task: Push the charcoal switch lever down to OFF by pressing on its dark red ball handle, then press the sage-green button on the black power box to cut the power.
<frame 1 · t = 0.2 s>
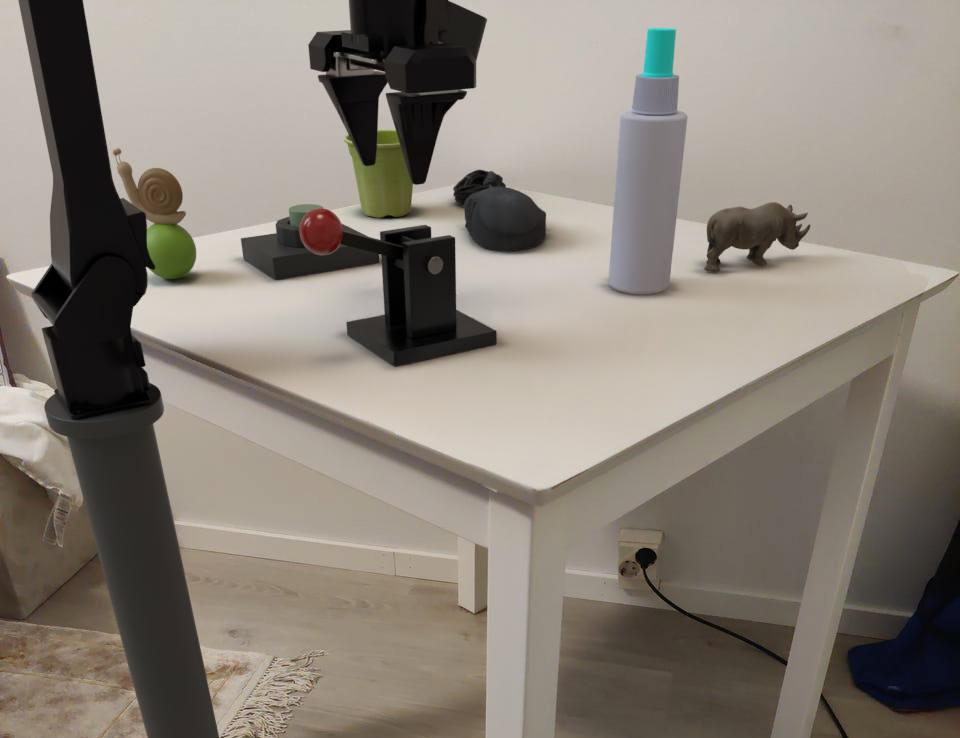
hand: (393, 174, 85), 12 cm above the table, tool pointing down, fingers open, 9 cm apart
snail figurine: (169, 279, 101), on the table
lever: (369, 244, 79), point 9 cm above the table, hinge at 20.0°
rhino figurine: (754, 264, 106), on the table
plant pot: (387, 214, 124), on the table
switch bracket: (421, 339, 86), on the table
power box: (311, 261, 106), on the table
spray bottle: (638, 288, 99), on the table
power button: (306, 216, 104), point 4 cm above the table, slide at 0.1 cm
dark rounded piece: (496, 220, 121), on the table
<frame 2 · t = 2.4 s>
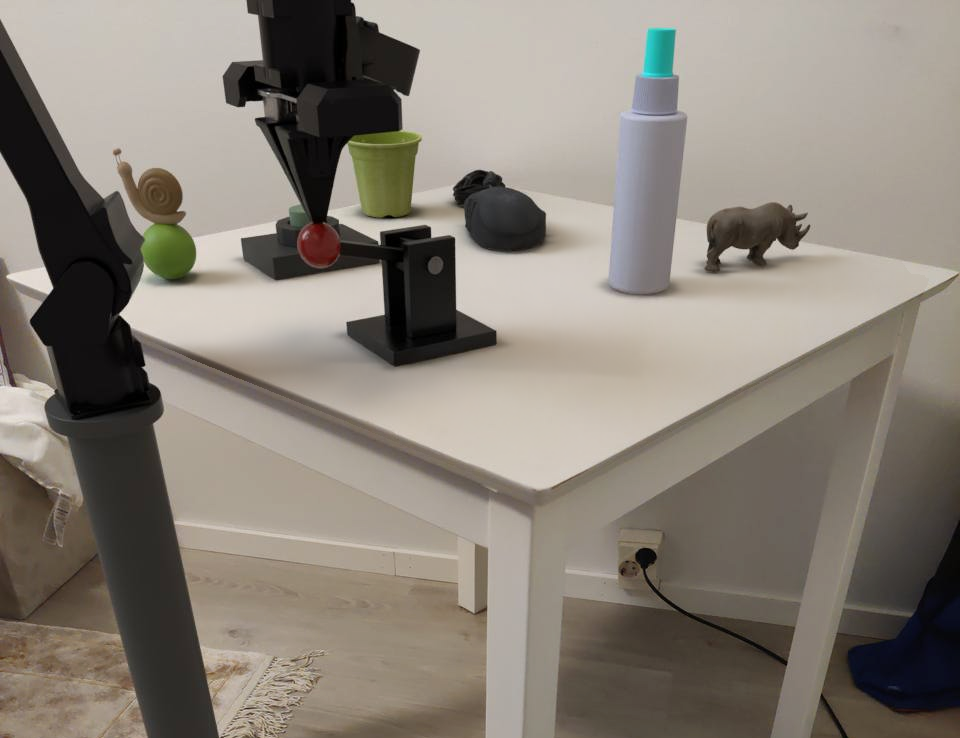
hand: (317, 221, 76), 11 cm above the table, tool pointing down, fingers closed
lever: (368, 251, 79), point 8 cm above the table, hinge at 13.7°, touching gripper
everything else where it was.
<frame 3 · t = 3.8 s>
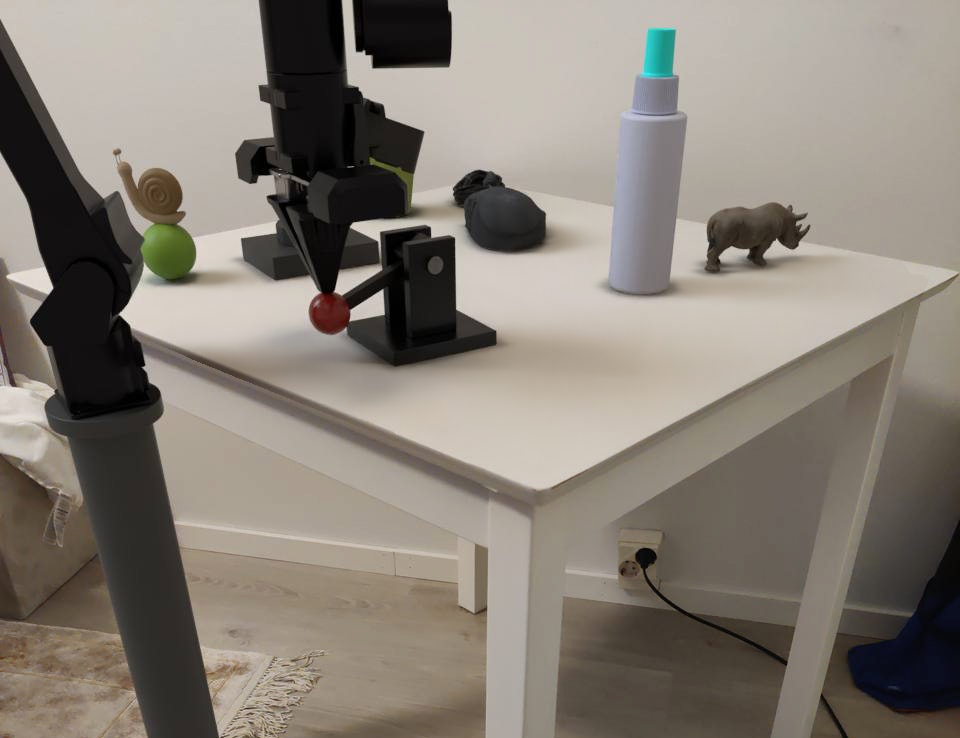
hand: (326, 292, 79), 5 cm above the table, tool pointing down, fingers closed, pressing on lever
lever: (372, 285, 81), point 5 cm above the table, hinge at -21.2°, touching gripper
everything else where it was.
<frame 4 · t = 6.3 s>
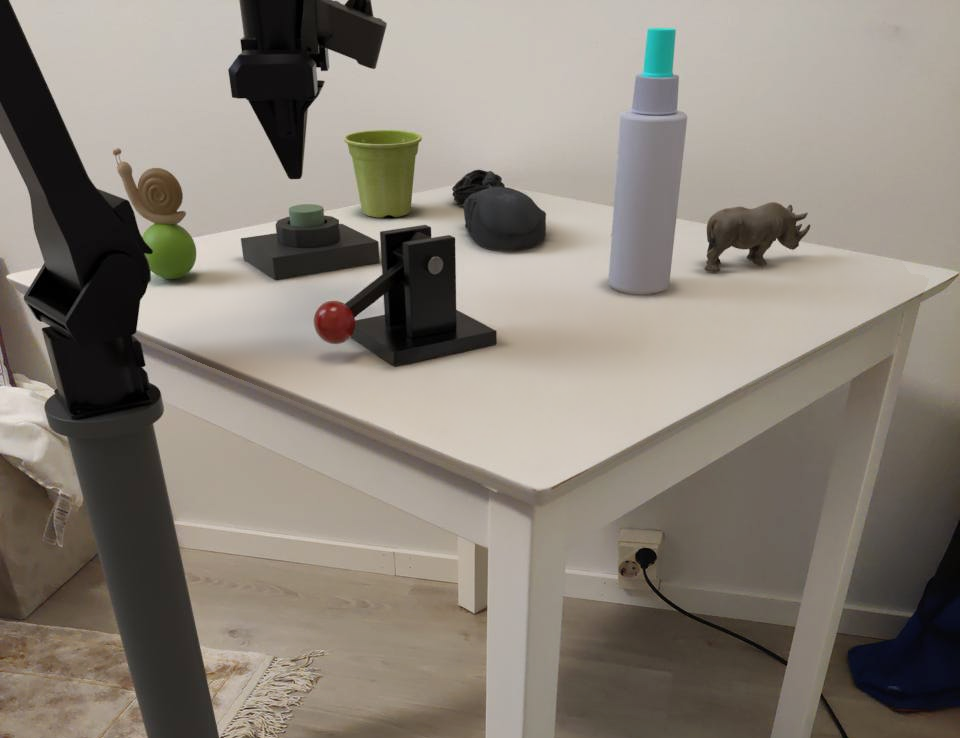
hand: (295, 178, 85), 12 cm above the table, tool pointing down, fingers closed
lever: (375, 290, 82), point 5 cm above the table, hinge at -27.0°
everything else where it was.
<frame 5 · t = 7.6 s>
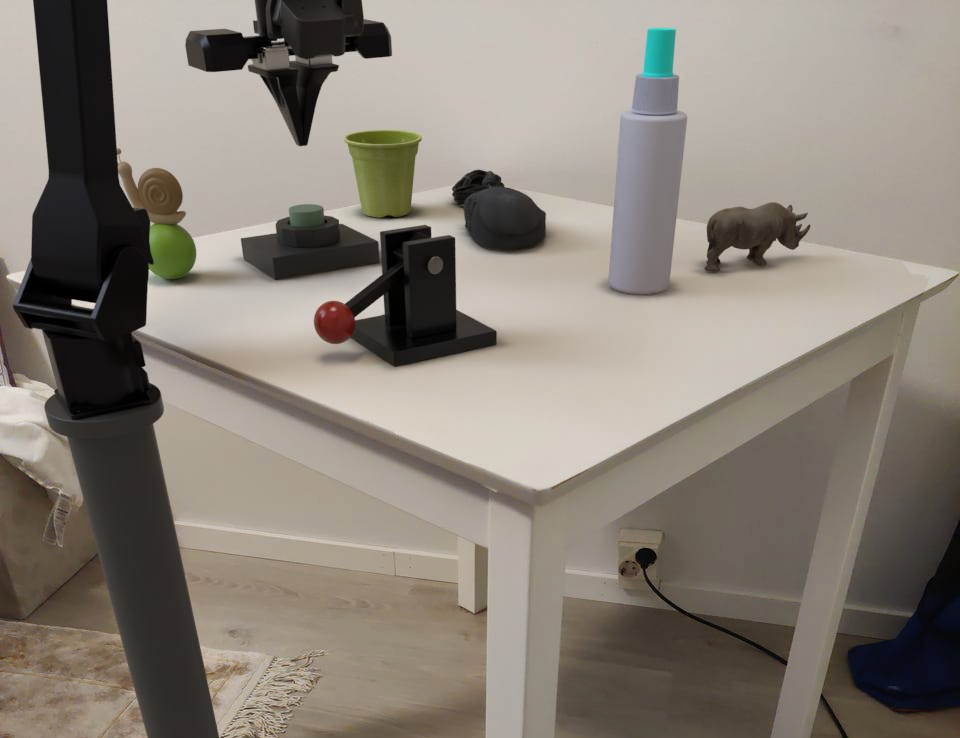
hand: (301, 145, 98), 12 cm above the table, tool pointing down, fingers closed
nothing on the table moved.
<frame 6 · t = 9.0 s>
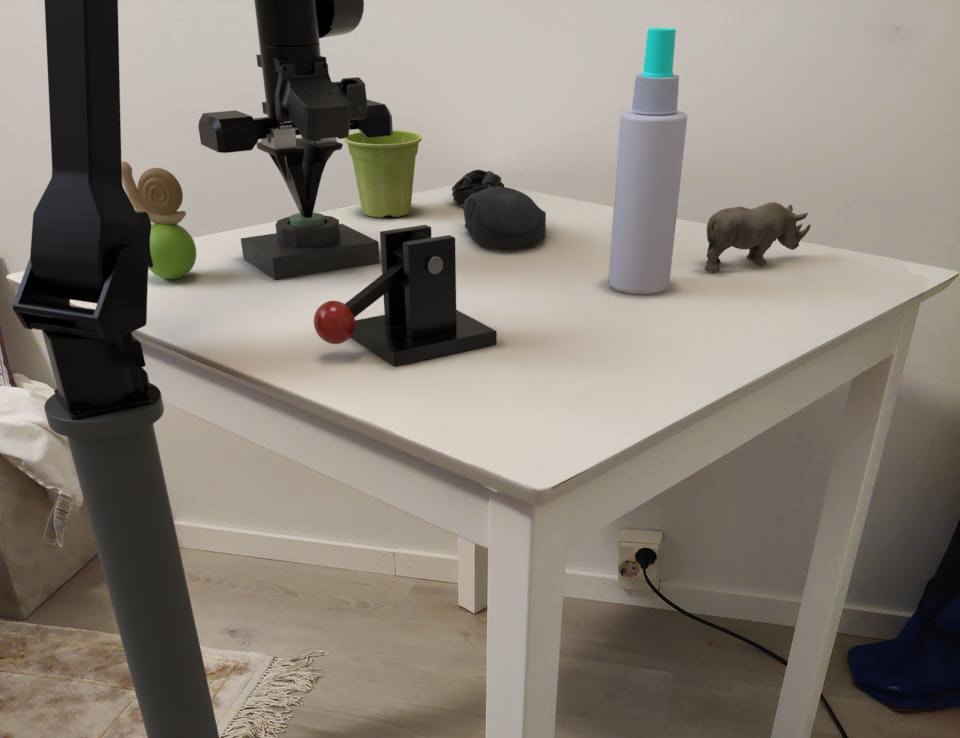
hand: (306, 216, 104), 5 cm above the table, tool pointing down, fingers closed, pressing on power button
power button: (307, 225, 104), point 4 cm above the table, slide at -0.7 cm, touching gripper
everything else where it was.
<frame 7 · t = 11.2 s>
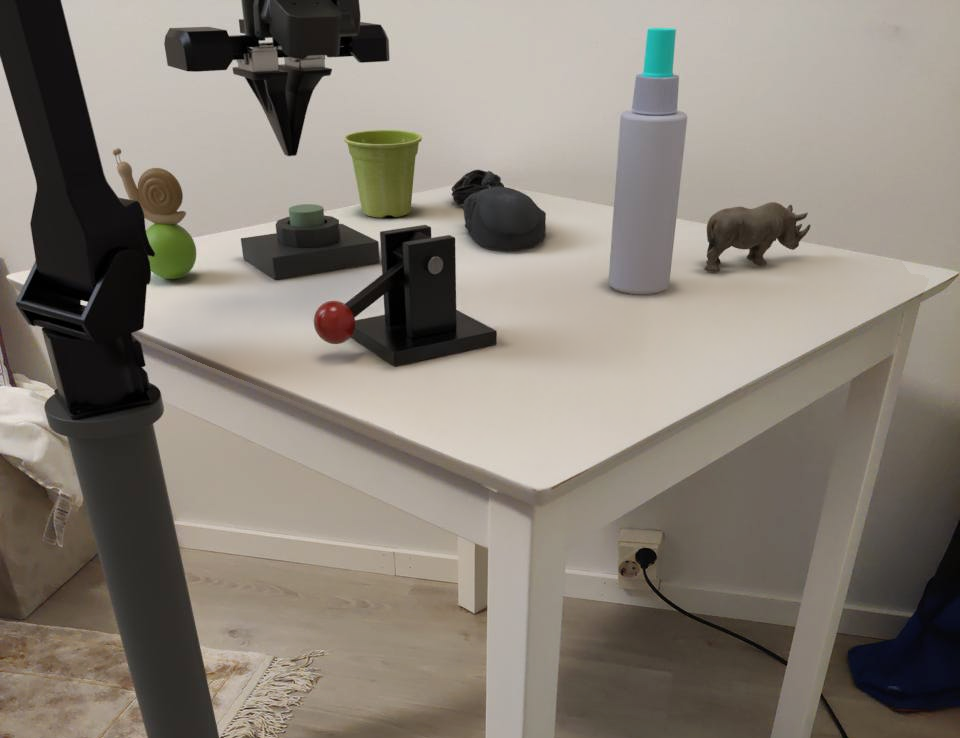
hand: (290, 155, 90), 12 cm above the table, tool pointing down, fingers closed
power button: (306, 216, 104), point 4 cm above the table, slide at 0.1 cm
everything else where it was.
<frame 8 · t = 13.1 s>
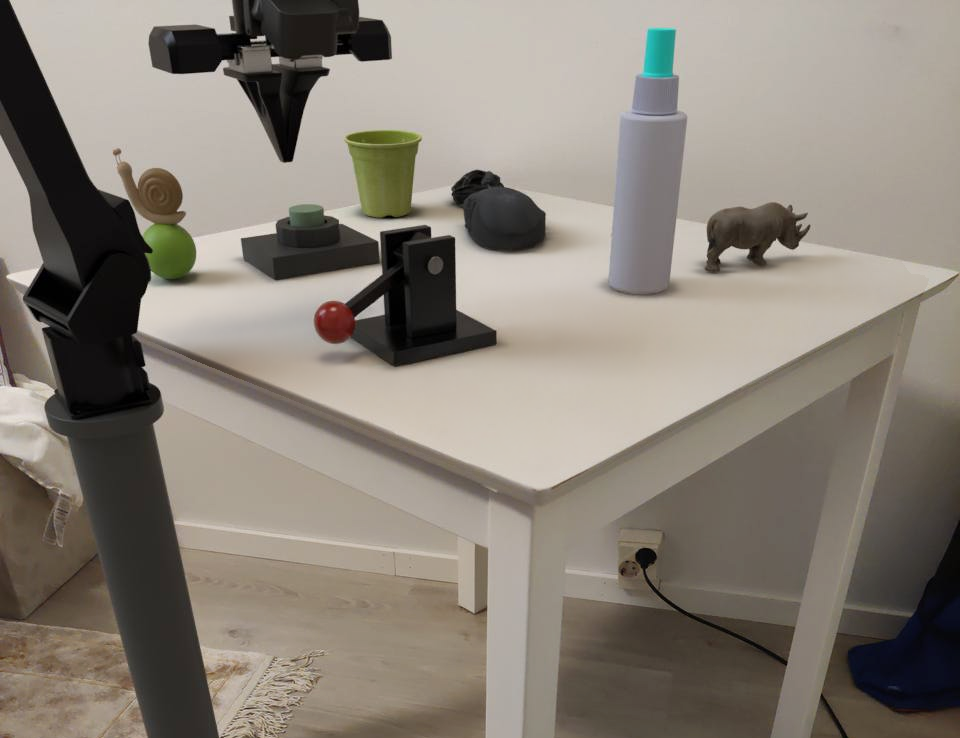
hand: (286, 161, 84), 13 cm above the table, tool pointing down, fingers closed
nothing on the table moved.
at the end: lever at -27° (first picture: +20°); power button pushed in 1.1 cm at the most during the clip, back to where it started at the end; power button slide at 0.1 cm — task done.
